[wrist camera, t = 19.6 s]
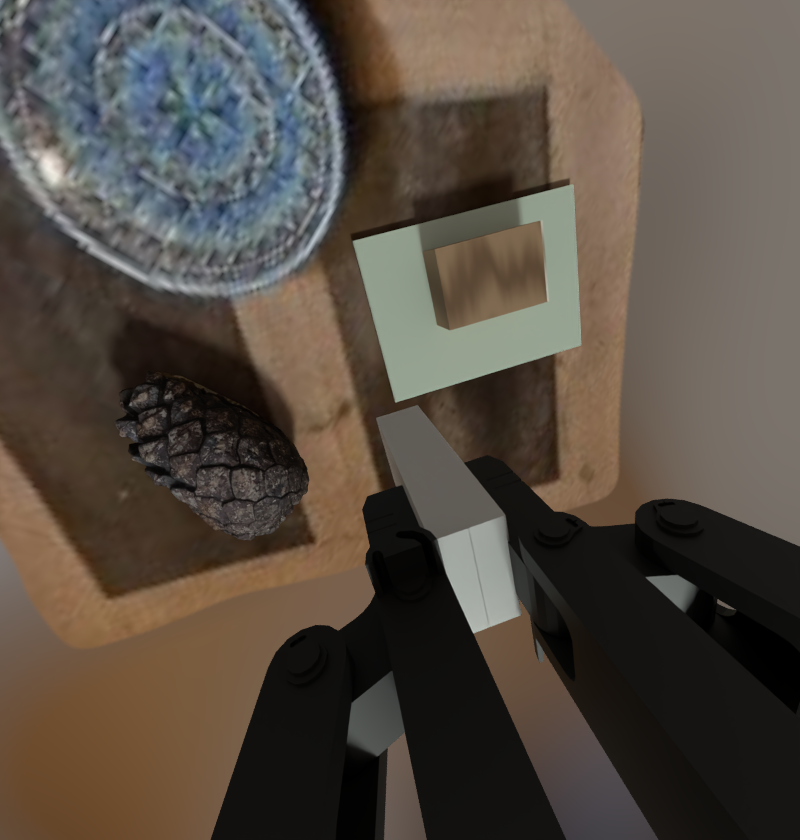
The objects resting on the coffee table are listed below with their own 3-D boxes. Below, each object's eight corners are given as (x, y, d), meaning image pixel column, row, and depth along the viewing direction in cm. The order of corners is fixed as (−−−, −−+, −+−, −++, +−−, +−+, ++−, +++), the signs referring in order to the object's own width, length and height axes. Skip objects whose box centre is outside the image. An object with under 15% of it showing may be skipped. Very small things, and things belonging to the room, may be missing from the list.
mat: (352, 241, 35) (352, 241, 34) (569, 185, 37) (573, 183, 36) (394, 400, 41) (395, 402, 40) (578, 344, 43) (581, 345, 43)
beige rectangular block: (434, 249, 32) (542, 220, 33) (422, 251, 36) (519, 225, 37) (450, 330, 35) (549, 301, 36) (437, 325, 38) (527, 298, 40)
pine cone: (161, 347, 35) (106, 373, 25) (326, 443, 41) (330, 491, 32) (107, 436, 36) (37, 490, 27) (274, 514, 43) (263, 579, 34)
